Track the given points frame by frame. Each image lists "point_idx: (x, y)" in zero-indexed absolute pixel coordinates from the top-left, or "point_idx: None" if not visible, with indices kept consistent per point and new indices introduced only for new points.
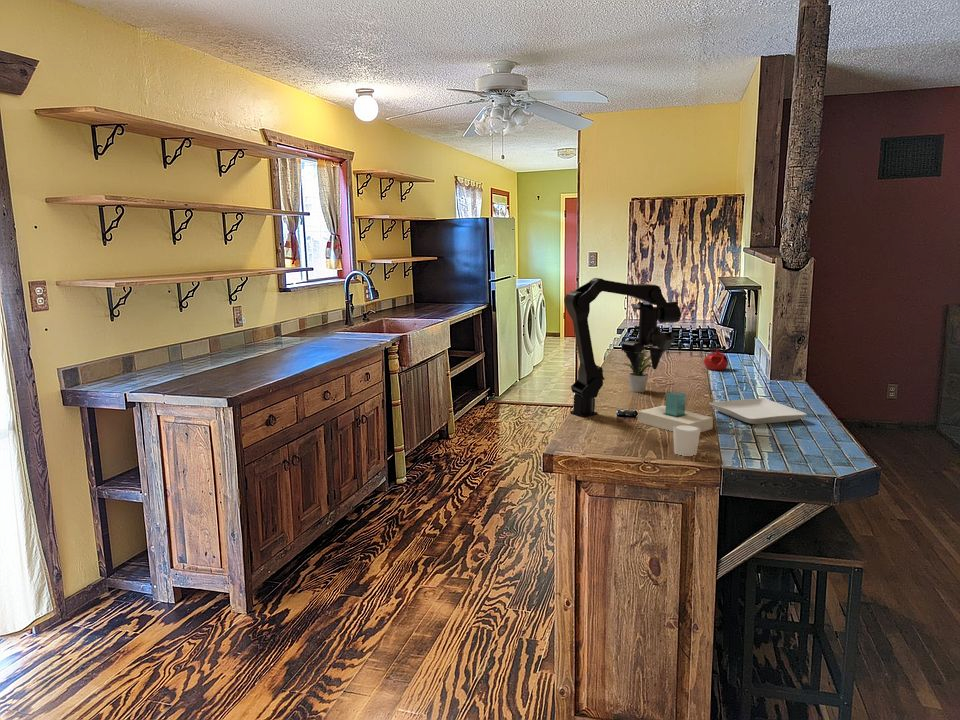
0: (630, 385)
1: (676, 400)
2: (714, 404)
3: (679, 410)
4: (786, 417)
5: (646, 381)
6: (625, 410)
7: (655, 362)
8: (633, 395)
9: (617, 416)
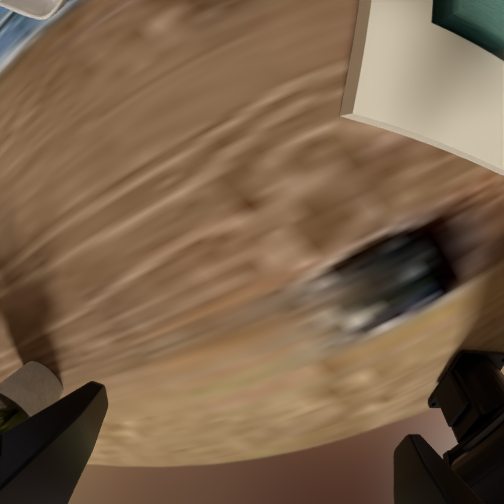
0: None
1: None
2: (42, 10)
3: None
4: None
5: (11, 378)
6: (348, 309)
7: (67, 446)
8: (95, 375)
9: (460, 284)
